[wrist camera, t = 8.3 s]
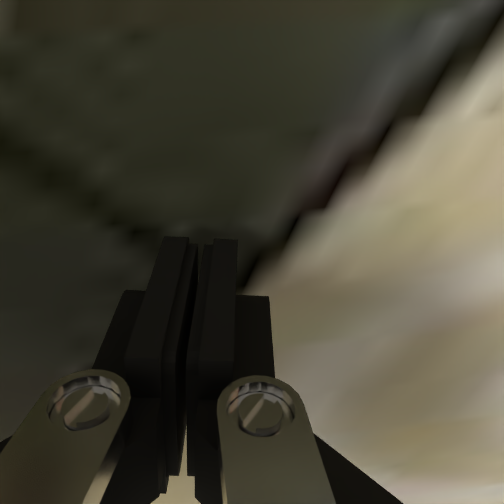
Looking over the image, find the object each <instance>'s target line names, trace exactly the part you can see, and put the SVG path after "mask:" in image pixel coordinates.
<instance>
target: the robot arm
mask: <svg viewBox="0 0 504 504" xmlns="http://www.w3.org/2000/svg"><path fill="white" fill-rule="evenodd" d="M237 245H238V240H229V239H214V245H206V244H205V246H204V252H203V258H202V264H201V270H200V276H199V282H198V244H189V237H168V236H165V237H164V239H163V242H162V245H161V248H160V251H159V254H158V257H157V260H156V263H155V266H154V269H153V272H152V275H151V277H150V280H149V283H148V286H147V289H146V291H136V290H126V291H124V293H123V294H122V297H121V299H120V301H119V304H118V306H117V309H116V311H115V314H114V316H113V319H112V321H111V323H110V326H109V328H108V331H107V333H106V336H105V338H104V341H103V343H102V345H101V348H100V350H99V353H98V355H97V358H96V360H95V363H94V365H93V367H92V369H89V370H84V371H78V372H75V373H72V374H70V375H67V376H65V377H62V378H61V379H59V380H58V381H56V382H55V383H53V384H52V385H51V386H50V387H49V388H48V389H47V390H46V391H45V392H44V393H43V394H42V395H41V397H40V398H39V400H38V401H37V402H36V404H35V405H34V407H33V408H32V410H31V411H30V412H29V414H28V415H27V417H26V418H25V419H24V421H23V422H22V424H21V425H20V426H19V428H18V429H17V431H16V432H15V433H14V435H12V436H11V437H9V438H7V439H5V440H3V441H2V442H0V504H150V503H151V502H153V501H154V500H155V499H156V498H158V497H159V495H160V493H165V494H166V492H167V486H168V479H169V475H172V476H179V473H180V467H181V460H182V453H183V445H184V438H185V431H186V424H187V475H188V476H195V498H196V499H197V500H198V501H199V502H200V503H201V504H403V503H402V502H401V501H399V500H398V499H397V498H396V497H394V496H393V495H392V494H391V493H389V492H388V491H387V490H385V489H384V488H383V487H382V486H380V485H379V484H378V483H376V482H375V481H374V480H373V479H371V478H370V477H369V476H367V475H366V474H365V473H364V472H362V471H361V470H360V469H358V468H357V467H356V466H355V465H353V464H352V463H351V462H350V461H348V460H347V459H346V458H344V457H343V456H342V455H341V454H339V453H338V452H337V451H335V450H334V449H333V448H332V447H330V446H329V445H328V444H326V443H325V442H324V441H323V440H321V439H320V438H319V437H318V436H316V435H315V434H314V433H313V431H312V428H311V425H310V422H309V419H308V416H307V413H306V410H305V407H304V404H303V402H302V400H301V398H300V396H299V394H298V393H297V392H296V391H295V390H294V389H293V388H292V387H291V386H290V385H288V384H286V383H284V382H283V381H281V380H279V379H276V378H275V371H274V357H273V343H272V330H271V316H270V302H269V297H268V296H249V295H236V273H237Z"/></svg>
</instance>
